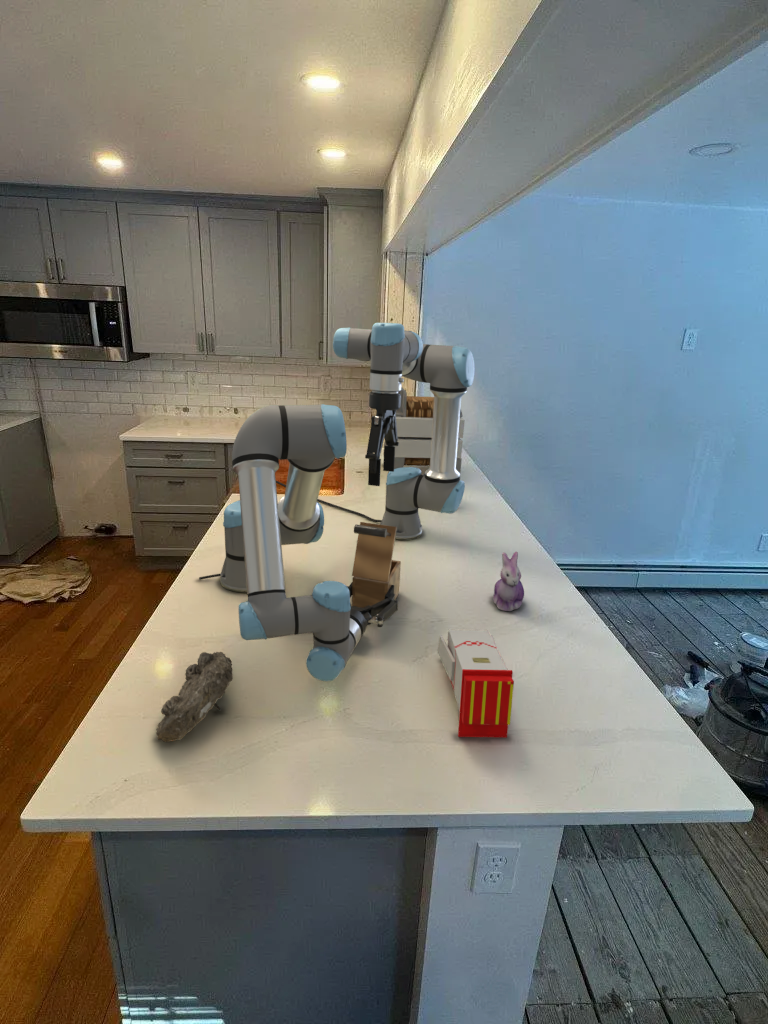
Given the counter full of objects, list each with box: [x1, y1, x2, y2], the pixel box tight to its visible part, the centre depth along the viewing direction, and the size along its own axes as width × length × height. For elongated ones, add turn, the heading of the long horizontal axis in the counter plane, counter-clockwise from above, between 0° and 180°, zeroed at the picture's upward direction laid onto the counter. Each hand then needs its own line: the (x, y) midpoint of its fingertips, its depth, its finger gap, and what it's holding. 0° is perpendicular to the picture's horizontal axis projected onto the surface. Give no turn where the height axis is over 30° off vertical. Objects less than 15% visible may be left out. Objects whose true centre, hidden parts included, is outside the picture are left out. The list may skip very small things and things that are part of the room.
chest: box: [351, 559, 402, 608], centre depth 151 cm, size 14×9×10 cm
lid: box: [351, 521, 397, 582], centre depth 140 cm, size 14×9×9 cm
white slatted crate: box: [383, 386, 465, 475], centre depth 268 cm, size 34×33×41 cm
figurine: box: [492, 551, 525, 612], centre depth 152 cm, size 9×10×15 cm
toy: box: [437, 628, 515, 738], centre depth 117 cm, size 12×13×30 cm
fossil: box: [155, 651, 234, 743], centre depth 109 cm, size 22×10×15 cm
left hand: (373, 586), depth 148 cm, fingers closed on chest, 9 cm apart
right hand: (381, 477), depth 141 cm, fingers open, 13 cm apart
